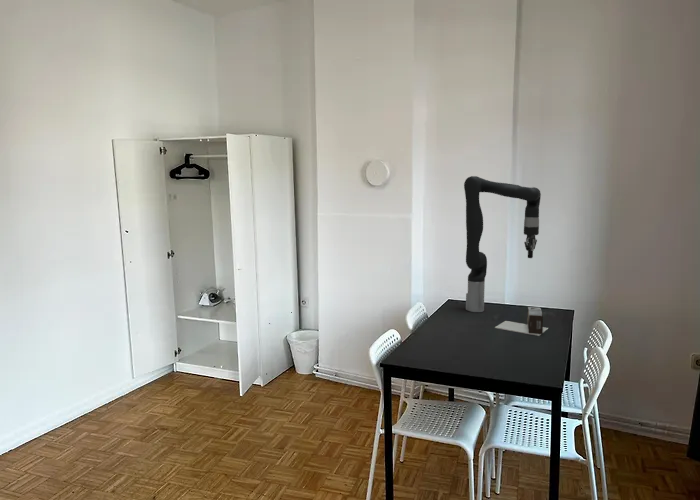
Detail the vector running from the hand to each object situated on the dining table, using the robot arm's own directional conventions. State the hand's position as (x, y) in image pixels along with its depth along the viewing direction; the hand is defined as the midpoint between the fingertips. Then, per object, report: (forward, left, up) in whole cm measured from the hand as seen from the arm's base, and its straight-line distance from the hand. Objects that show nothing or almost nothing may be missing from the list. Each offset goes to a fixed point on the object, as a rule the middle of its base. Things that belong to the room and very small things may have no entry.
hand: (530, 257), depth 279 cm
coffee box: (+8, -14, -27) cm, 31 cm away
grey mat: (+5, -24, -32) cm, 40 cm away
